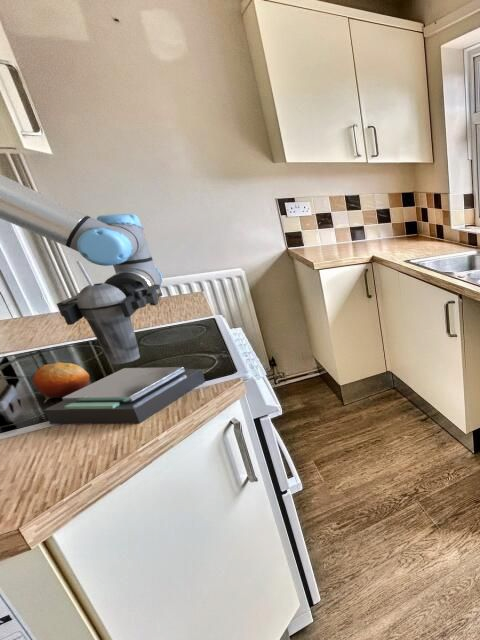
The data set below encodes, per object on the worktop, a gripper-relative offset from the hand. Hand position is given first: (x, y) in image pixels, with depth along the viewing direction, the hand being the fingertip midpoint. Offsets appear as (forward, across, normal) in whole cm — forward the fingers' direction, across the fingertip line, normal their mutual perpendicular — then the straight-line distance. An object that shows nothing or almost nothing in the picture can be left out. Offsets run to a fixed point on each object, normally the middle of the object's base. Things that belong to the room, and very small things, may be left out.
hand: (96, 313), depth 77 cm
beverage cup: (-5, 0, -11) cm, 12 cm away
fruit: (-13, +13, -19) cm, 27 cm away
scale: (-2, 0, -19) cm, 19 cm away
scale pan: (-2, 0, -15) cm, 16 cm away
